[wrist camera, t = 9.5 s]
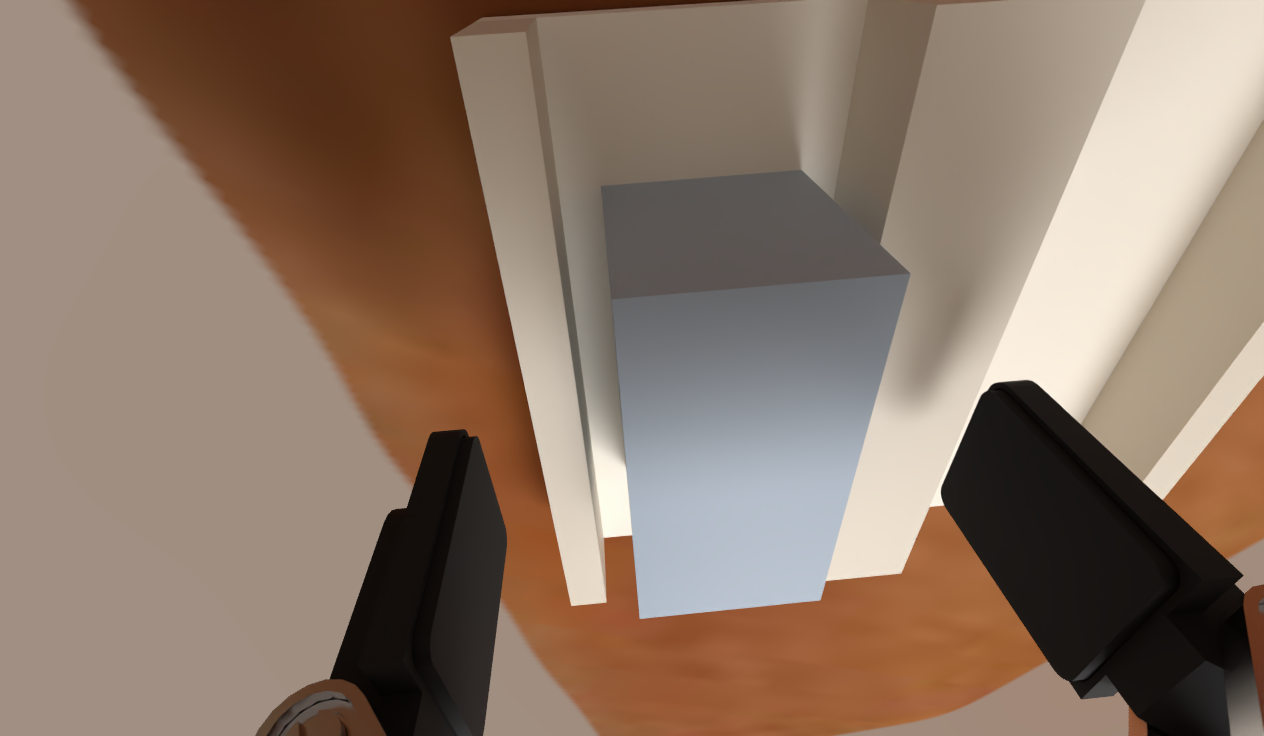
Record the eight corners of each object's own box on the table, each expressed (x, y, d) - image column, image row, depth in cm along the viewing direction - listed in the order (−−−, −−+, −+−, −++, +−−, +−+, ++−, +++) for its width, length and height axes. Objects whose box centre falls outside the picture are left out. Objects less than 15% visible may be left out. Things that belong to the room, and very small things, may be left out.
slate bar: (802, 169, 11) (910, 273, 7) (765, 453, 16) (820, 600, 12) (601, 186, 11) (612, 299, 7) (626, 466, 16) (639, 618, 12)
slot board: (1359, -40, 10) (1598, -39, 8) (1050, 475, 19) (1120, 551, 16) (482, 17, 10) (450, 36, 7) (572, 520, 18) (571, 605, 16)
